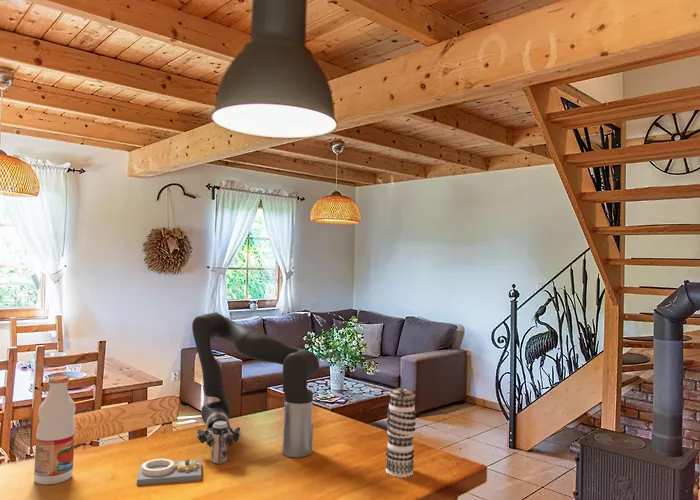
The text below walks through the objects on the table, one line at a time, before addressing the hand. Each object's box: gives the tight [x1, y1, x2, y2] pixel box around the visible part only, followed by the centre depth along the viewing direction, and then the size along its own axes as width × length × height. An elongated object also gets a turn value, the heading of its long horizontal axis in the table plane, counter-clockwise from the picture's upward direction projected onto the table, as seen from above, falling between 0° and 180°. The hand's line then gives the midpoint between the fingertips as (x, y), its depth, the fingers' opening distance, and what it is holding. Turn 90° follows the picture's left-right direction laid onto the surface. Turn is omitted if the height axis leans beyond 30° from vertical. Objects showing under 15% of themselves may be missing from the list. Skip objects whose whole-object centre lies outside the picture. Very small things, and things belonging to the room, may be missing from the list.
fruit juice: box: [33, 375, 76, 486], centre depth 145 cm, size 9×9×28 cm
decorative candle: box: [385, 387, 418, 478], centre depth 160 cm, size 9×9×25 cm
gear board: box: [136, 458, 202, 486], centre depth 151 cm, size 17×12×4 cm
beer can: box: [210, 421, 229, 465], centre depth 162 cm, size 5×5×12 cm
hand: (220, 442), depth 159 cm, fingers open, 5 cm apart
